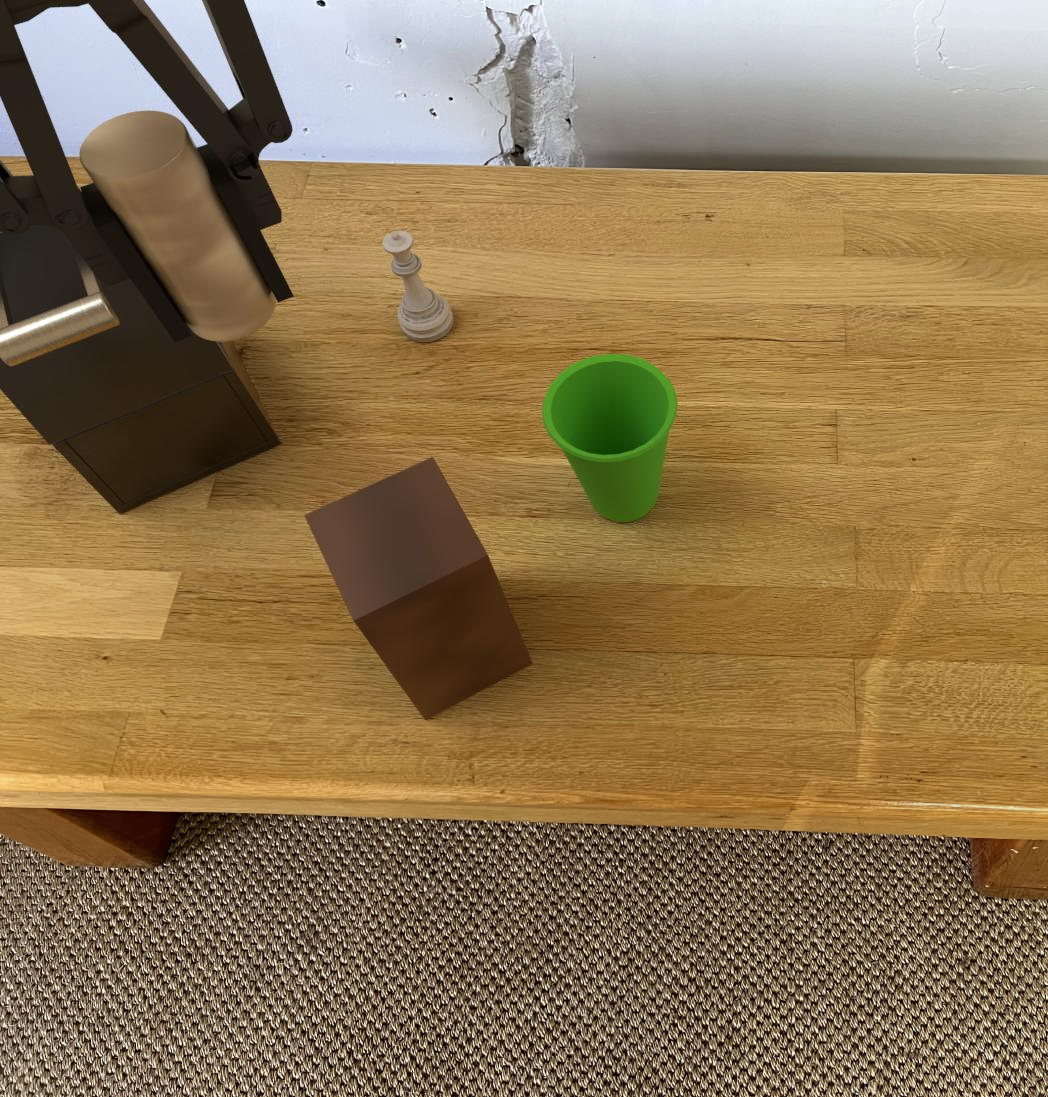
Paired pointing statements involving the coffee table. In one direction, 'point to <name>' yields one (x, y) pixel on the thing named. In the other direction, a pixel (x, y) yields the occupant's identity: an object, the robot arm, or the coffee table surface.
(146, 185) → the tan wooden cylinder
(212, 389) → the dark boxy piece
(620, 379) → the cup
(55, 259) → the handled dark lid
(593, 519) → the coffee table surface
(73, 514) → the coffee table surface
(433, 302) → the chess piece
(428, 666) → the dark brown rectangular block
